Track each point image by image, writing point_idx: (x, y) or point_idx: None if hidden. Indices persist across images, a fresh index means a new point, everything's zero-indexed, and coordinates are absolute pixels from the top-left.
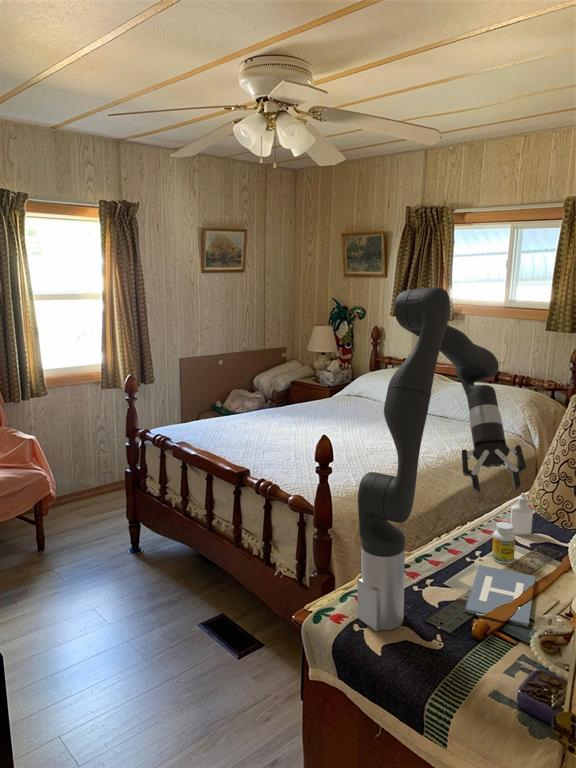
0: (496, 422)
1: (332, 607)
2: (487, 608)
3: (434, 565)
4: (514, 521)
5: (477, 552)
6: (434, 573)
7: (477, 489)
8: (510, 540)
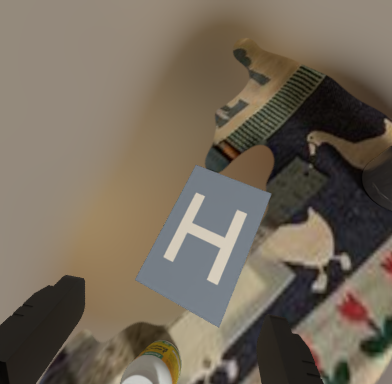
0: None
1: None
2: (239, 193)
3: None
4: None
5: None
6: (308, 311)
7: (284, 317)
8: (141, 356)
